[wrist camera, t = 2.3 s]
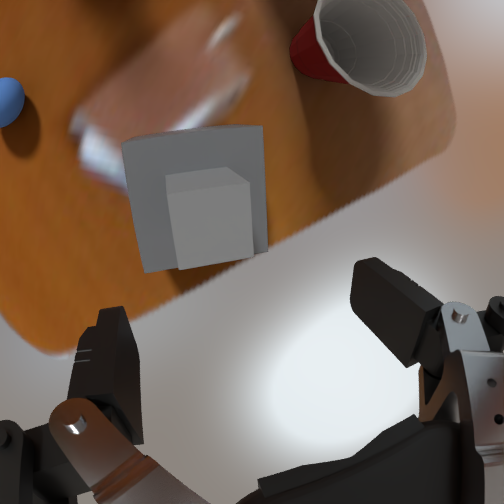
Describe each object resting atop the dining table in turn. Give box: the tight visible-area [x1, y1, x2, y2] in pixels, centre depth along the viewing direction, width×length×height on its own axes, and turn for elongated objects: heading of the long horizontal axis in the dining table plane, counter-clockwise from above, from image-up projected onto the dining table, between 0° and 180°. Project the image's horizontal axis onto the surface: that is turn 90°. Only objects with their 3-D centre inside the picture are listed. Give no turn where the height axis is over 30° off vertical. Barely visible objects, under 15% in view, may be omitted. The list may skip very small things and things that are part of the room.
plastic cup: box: [290, 0, 427, 97], centre depth 22 cm, size 11×11×12 cm
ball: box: [0, 78, 25, 128], centre depth 18 cm, size 5×5×5 cm
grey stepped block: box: [121, 124, 268, 273], centre depth 23 cm, size 10×10×15 cm
